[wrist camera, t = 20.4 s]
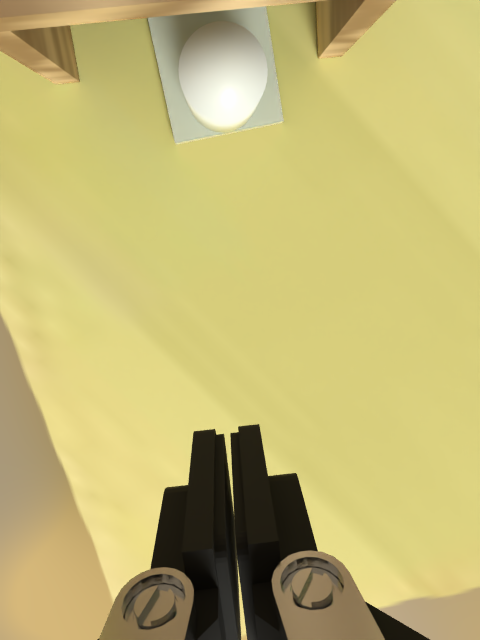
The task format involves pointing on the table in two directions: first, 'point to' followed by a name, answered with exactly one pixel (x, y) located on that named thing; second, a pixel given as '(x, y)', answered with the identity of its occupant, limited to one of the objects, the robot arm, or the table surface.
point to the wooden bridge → (134, 3)
